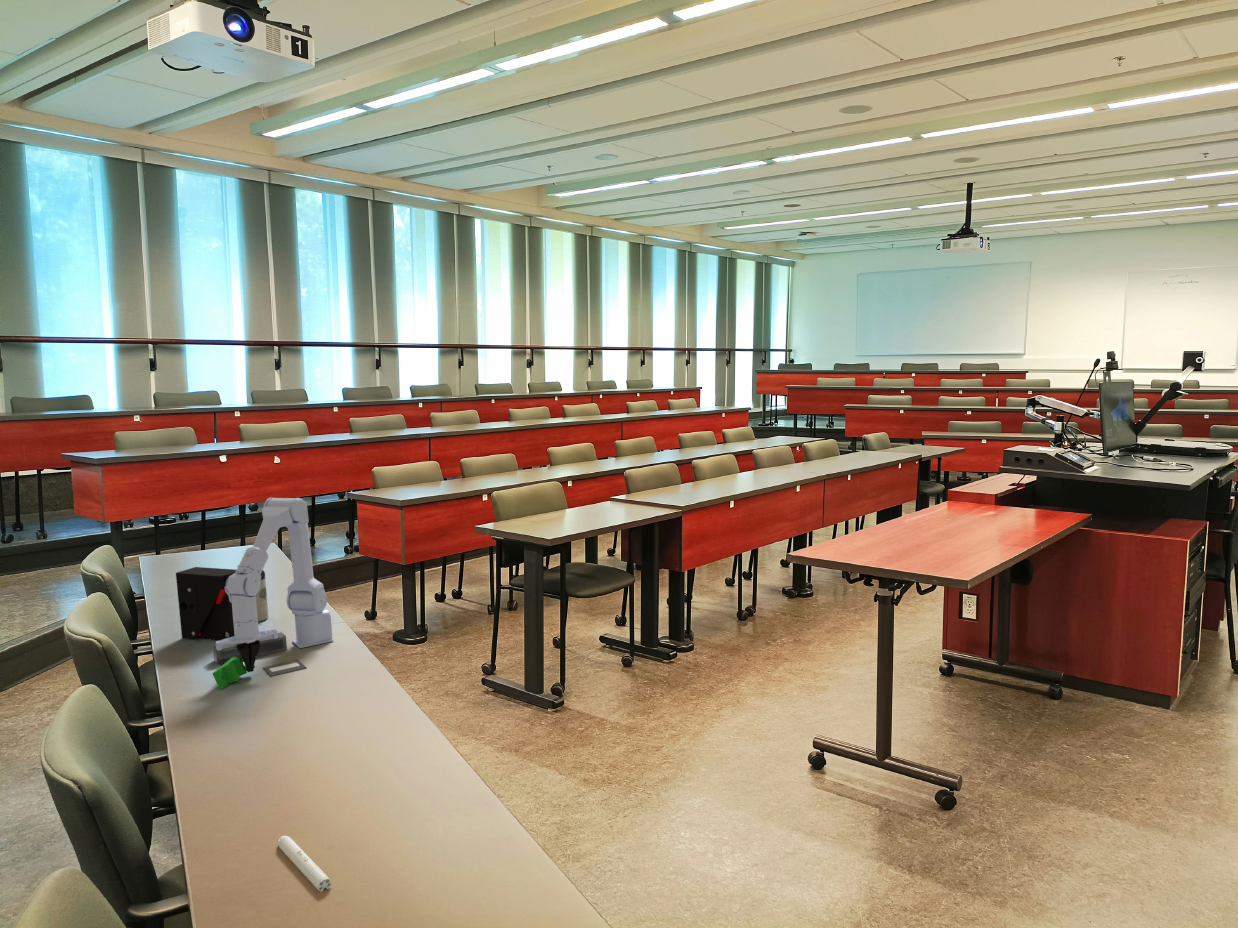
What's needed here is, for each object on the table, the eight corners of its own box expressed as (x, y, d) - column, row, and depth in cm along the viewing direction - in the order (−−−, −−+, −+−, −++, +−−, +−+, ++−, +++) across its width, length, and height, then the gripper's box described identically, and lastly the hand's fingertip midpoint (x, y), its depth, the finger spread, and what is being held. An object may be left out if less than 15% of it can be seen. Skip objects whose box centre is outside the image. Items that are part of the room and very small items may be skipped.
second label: (297, 659, 225) (297, 658, 225) (306, 668, 219) (306, 666, 219) (262, 667, 220) (262, 666, 220) (270, 676, 214) (270, 675, 214)
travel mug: (235, 622, 262) (230, 566, 260) (255, 614, 269) (250, 560, 267) (254, 624, 259) (250, 567, 257) (274, 617, 266) (269, 561, 264)
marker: (274, 845, 137) (273, 832, 137) (287, 840, 139) (286, 827, 139) (318, 895, 124) (317, 880, 124) (332, 888, 126) (331, 874, 125)
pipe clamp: (233, 684, 206) (226, 668, 206) (219, 690, 206) (212, 673, 206) (252, 668, 217) (244, 652, 217) (238, 673, 217) (231, 657, 217)
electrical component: (253, 633, 250) (247, 568, 248) (227, 644, 241) (221, 576, 238) (207, 628, 256) (201, 565, 253) (180, 639, 246) (173, 573, 244)
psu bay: (282, 645, 238) (281, 630, 237) (287, 649, 234) (286, 634, 233) (214, 660, 227) (212, 644, 226) (217, 664, 223) (216, 649, 223)
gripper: (217, 629, 205) (222, 681, 207) (279, 617, 214) (283, 668, 215) (212, 622, 211) (216, 674, 213) (272, 611, 219) (276, 660, 221)
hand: (249, 670), depth 214 cm, fingers closed
